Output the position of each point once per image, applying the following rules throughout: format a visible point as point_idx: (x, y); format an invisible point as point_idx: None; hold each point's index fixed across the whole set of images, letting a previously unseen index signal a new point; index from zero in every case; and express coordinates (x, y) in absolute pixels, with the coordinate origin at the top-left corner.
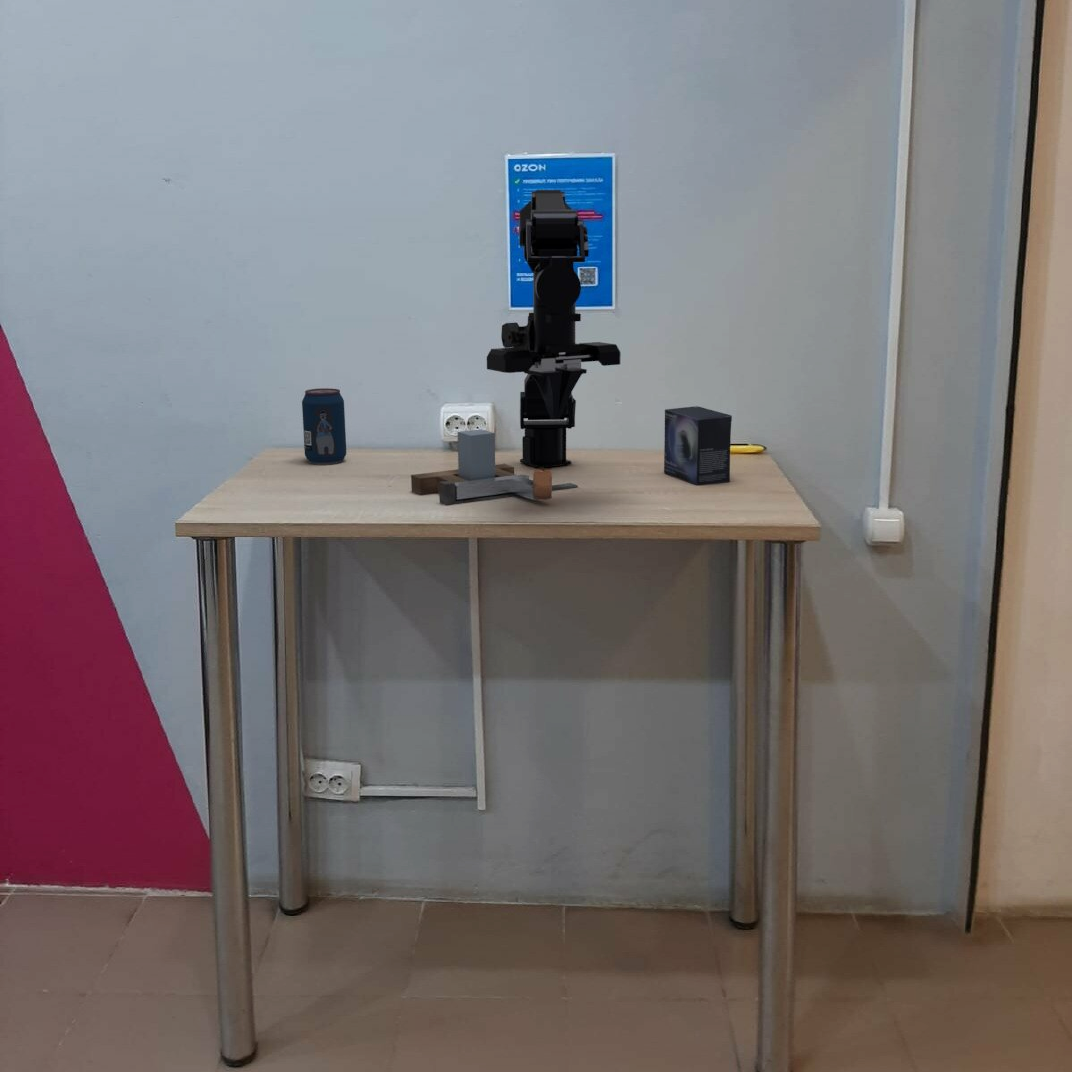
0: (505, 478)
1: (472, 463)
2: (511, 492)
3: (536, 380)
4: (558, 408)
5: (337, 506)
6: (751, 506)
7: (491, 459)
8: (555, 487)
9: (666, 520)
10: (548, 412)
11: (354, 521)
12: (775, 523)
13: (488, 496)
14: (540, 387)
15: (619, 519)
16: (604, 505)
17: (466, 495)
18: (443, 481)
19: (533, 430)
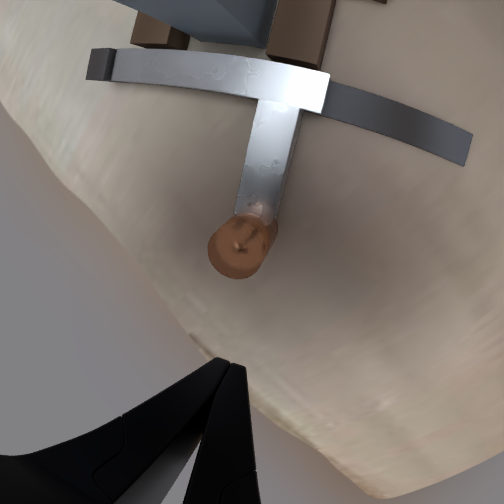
0: (248, 84)
1: (164, 20)
2: None
3: (19, 464)
4: (200, 437)
5: (29, 7)
6: (448, 451)
7: (225, 21)
8: (409, 135)
9: (314, 430)
10: (195, 370)
11: (3, 102)
12: (375, 488)
13: None
14: (72, 451)
15: (272, 389)
16: (344, 324)
17: (146, 83)
18: (98, 50)
19: None
